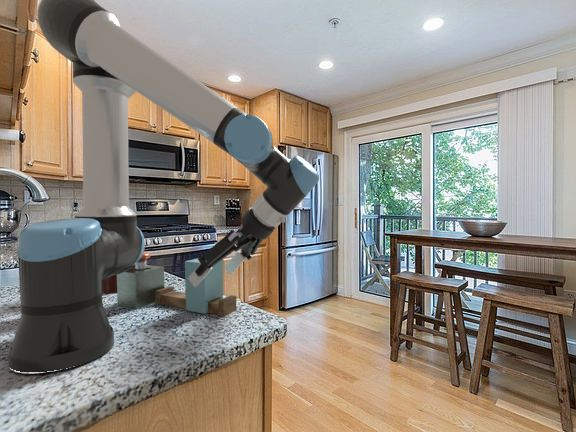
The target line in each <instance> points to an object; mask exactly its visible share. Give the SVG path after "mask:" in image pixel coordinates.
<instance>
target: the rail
mask: <svg viewBox="0 0 576 432" xmlns="http://www.w3.org/2000/svg"><path fill="white" fill-rule="evenodd" d="M154 304H155V305H159V306H160V305H162V306H168V307H169V306H170V307H175V308H180V309H184V310H186V295H185V292H183V291H182V292H181V291H175V287H174V286H167V287H164V288H163V289H160V290H156V291H155V303H154ZM235 311H237V296H236V295H229V296H227V297H223V299H222V298H216V299H214V300H211V301H209V302H208V313H207V314H213V315H218V316H219V317H226V316H228V315H230V314H231V313H234V312H235Z"/></svg>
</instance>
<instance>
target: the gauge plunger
mask: <svg viewBox="0 0 576 432" xmlns="http://www.w3.org/2000/svg"><path fill="white" fill-rule="evenodd" d="M150 258H151V253H150V252H143V254H142V256H141V258H140V260H139V261H138V262H137V263H136V264H135V271H143V270H147V265H148V263H147V262H148V261H147V259H150Z"/></svg>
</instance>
